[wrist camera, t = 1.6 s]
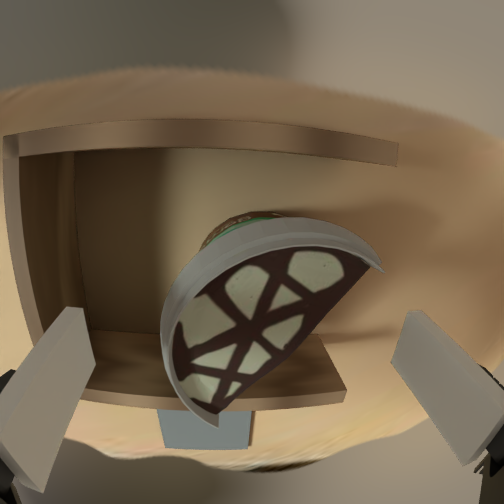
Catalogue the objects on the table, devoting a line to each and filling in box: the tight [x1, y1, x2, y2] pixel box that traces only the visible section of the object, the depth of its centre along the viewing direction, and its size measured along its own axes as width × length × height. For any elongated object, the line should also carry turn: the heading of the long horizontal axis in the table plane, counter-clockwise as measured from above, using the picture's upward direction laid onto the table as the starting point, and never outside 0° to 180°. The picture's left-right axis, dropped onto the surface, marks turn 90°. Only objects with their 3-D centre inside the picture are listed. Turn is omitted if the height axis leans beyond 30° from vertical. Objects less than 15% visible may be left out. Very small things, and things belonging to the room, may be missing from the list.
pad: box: [157, 409, 252, 450], centre depth 26 cm, size 9×14×1 cm, turn 176°
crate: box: [3, 119, 398, 411], centre depth 18 cm, size 20×16×7 cm
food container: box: [160, 212, 385, 429], centre depth 17 cm, size 12×6×10 cm, turn 139°
